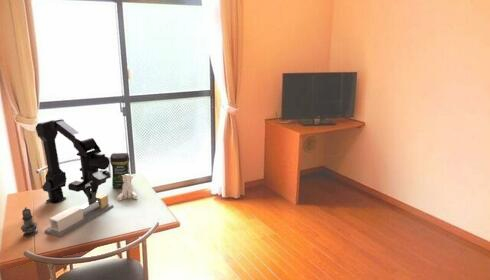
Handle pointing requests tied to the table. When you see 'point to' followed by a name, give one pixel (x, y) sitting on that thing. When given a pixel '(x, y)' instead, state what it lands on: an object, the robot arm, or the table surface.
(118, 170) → the coffee jar
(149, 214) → the table surface
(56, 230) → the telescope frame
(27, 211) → the dark grey statuette
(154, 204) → the table surface
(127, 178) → the seated beast figurine
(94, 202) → the steel t-shaped block
